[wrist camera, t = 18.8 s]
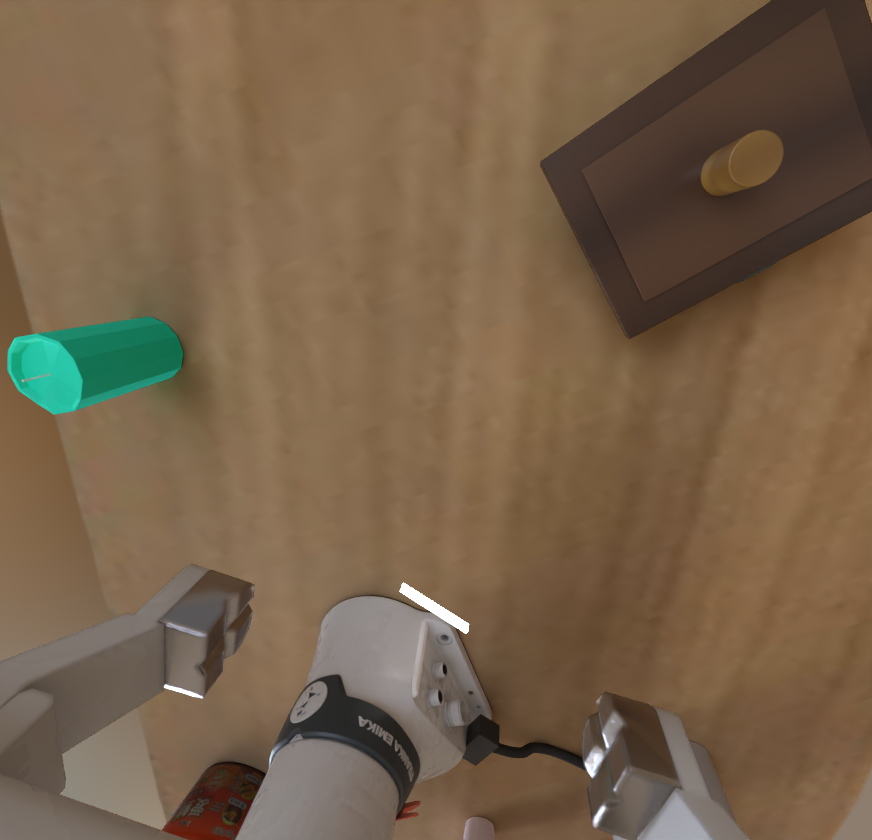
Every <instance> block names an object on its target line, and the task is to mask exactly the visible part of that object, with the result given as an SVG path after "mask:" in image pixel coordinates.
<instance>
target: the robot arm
mask: <svg viewBox="0 0 872 840" xmlns="http://www.w3.org/2000/svg"><path fill="white" fill-rule="evenodd" d="M400 592H401V593H402V594H404V595H406V596H407V597H409V598H410V599H412V600H414V601H415V602H417V603H418V604H420V605H421V606H423V607H425V608H426V609H428V610H429V611H431V612H433V613H429V612H422V611H419V610H416V609H414V608H412V607H410V606H408V605H406V604H403V603H401V602H398V601H396V600H392V599H389V598H384V597H377V596H362V597H355V598H351V599H348V600H345V601H343V602H341V603H339V604H337V605H336V606H334V607H333V608H332V609H331V610H330V611H329V612H328V613H327V614H326V616H325V617H324V619H323V621H322V624H321V627H320V633H319V640H318V645H317V649H316V653H315V657H314V660H313V664H312V667H311V670H310V673H309V676H308V679H307V682H306V685H305V688H304V690H303V691H302V693H301V694H300V696H299V697H298V699H297V701H296V702H295V704H294V706H293V708H292V709H291V711H290V713H289V715H288V717H287V719H286V721H285V724H284V726H283V728H282V730H281V732H280V734H279V736H278V739H277V741H276V743H275V745H274V748H273V750H272V752H271V754H270V758H269V770H268V772H267V774H266V776H265V778H264V780H263V782H262V784H261V786H260V789H259V791H258V793H257V795H256V797H255V799H254V801H253V803H252V805H251V808H250V810H249V812H248V814H247V816H246V818H245V820H244V822H243V825H242V827H241V829H240V831H239V833H238V835H237V837H236V839H235V840H392V834H393V829H394V825H395V821H398V820H403V819H407V818H412V817H416V816H418V813H416V812H414V813H407V812H408V811H412V810H413V809H415V808H416V807H418V806H419V805H420V801H414V802H410V803H405V802H406V800H407V798H408V796H409V794H410V792H411V790H412V788H413V786H414V784H417V783H420V782H423V781H426V780H428V779H431V778H434V777H436V776H439V775H441V774H444V773H446V772H447V771H449V770H451V769H452V768H454V767H455V766H456V765H457V764H458V763H459V762H460V761H461V759H462V758H464V759H466V760H467V761H469V762H471V763H472V764H474V765H477V764H479V763H480V762H481V761H482V760H483V759H484V758H486V757H487V756H488V755H489V754H490V753H492V752H493V753H497V754H500V755H503V756H507V757H511V758H525V757H527V756H529V755H530V754H532V753H542V754H547V755H550V756H554V757H556V758H559V759H562V760H564V761H566V762H569V763H571V764H573V765H575V766H577V767H579V768H581V769H583V770H586V771H588V773H589V774H590V776H591V777H592V779H593V780H592V781H591V783H590V785H589V787H588V788H587V791H588V798H589V804H590V811H591V817H592V824H593V827H594V828H596V829H599V830H602V831H605V832H607V833H610V834H613V835H616V836H619V837H621V838H624V839H627V840H750V838H749V837H748V836H747V835H746V834H745V832H744V831H743V830H742V829H741V828H740V826H739V825H738V824H737V823H736V822H735V820H734V819H733V818H732V817H731V816H730V814H729V813H728V812H727V811H726V810H725V808H724V807H723V806H722V805H721V804H720V802H718V801H716V800H713V799H711V797H710V795H709V792H708V789H707V787H706V784H705V781H704V779H703V776H702V774H701V771H700V768H699V766H698V763H697V761H696V758H695V755H694V753H693V750H692V747H691V745H690V742H689V740H688V737H687V734H686V732H685V729H684V727H683V724H682V721H681V719H680V717H679V716H678V715H677V714H676V713H675V712H672V711H669V710H665V709H662V708H659V707H655V706H650V705H649V704H646V703H643V702H639V701H636V700H633V699H629V698H626V697H622V696H619V695H616V694H612V693H609V692H604V693H602V694H601V695H600V697H599V699H598V700H597V702H596V703H597V708H598V712H597V713H595V714H592V715H590V716H589V717H588V719H587V722H586V724H585V726H584V730H583V736H582V757H583V758H581V757H579V756H577V755H574V754H572V753H570V752H568V751H565V750H563V749H560V748H557V747H554V746H551V745H548V744H543V743H536V742H533V743H528V744H526V745H525V746H523V747H511V746H507V745H504V744H500V743H499V725H498V724H496V723H495V722H493V721H492V720H491V717H492V711H491V708H490V706H489V703H488V701H487V699H486V696H485V694H484V692H483V690H482V687H481V685H480V683H479V680H478V678H477V676H476V674H475V671H474V669H473V667H472V665H471V662H470V660H469V658H468V655H467V653H466V651H465V649H464V646H463V644H462V642H461V639H460V637H459V635H458V633H457V630H456V628H458V629H459V630H461V631H463V632H464V633H467V632H468V628H469V624H468V623H466V622H465V621H463V620H462V619H460V618H459V617H457V616H455V615H454V614H452V613H451V612H449V611H447V610H446V609H444V608H443V607H441V606H440V605H438V604H436V603H435V602H433V601H432V600H430V599H429V598H427V597H425V596H424V595H422V594H421V593H419V592H417V591H416V590H414V589H413V588H411V587H410V586H408V585H406V584H405V583H403V584H402V586H401V589H400ZM253 597H254V585H253V584H252V583H249V582H246V581H244V580H241V579H238V578H235V577H232V576H229V575H226V574H223V573H220V572H217V571H214V570H210V569H207V568H204V567H201V566H198V565H195V564H191V565H189V566H186V567H185V568H183V569H182V570H181V571H180V572H179V573H178V574H177V575H176V576H175V577H174V578H173V579H172V580H171V581H169V582H168V583H167V584H166V585H165V586H164V587H163V588H162V589H161V590H160V591H159V592H158V593H157V594H156V595H155V596H153V597H152V598H151V599H150V600H149V601H148V602H147V603H146V604H145V605H144V606H143V607H142V608H141V609H140V610H138V611H137V612H136V613H135V614H134V615H133V614H130V613H126V614H123V615H121V616H118V617H116V618H113V619H110V620H108V621H105V622H103V623H100V624H97V625H94V626H92V627H90V628H87V629H84V630H81V631H79V632H76V633H73V634H71V635H68V636H66V637H63V638H60V639H58V640H55V641H52V642H50V643H48V644H45V645H42V646H39V647H37V648H34V649H31V650H29V651H26V652H24V653H21V654H18V655H16V656H13V657H10V658H8V659H5V660H2V661H0V840H187V839H185V838H182V837H179V836H176V835H173V834H170V833H168V832H165V831H162V830H159V829H156V828H153V827H151V826H148V825H145V824H142V823H139V822H136V821H133V820H131V819H128V818H125V817H122V816H119V815H117V814H114V813H111V812H108V811H105V810H102V809H99V808H96V807H94V806H91V805H88V804H85V803H83V802H80V801H77V800H74V799H71V798H68V797H66V796H63V795H60V793H61V792H62V791H63V790H64V788H65V782H66V777H65V770H64V764H63V757H62V754H63V753H64V752H66V751H68V750H69V749H71V748H72V747H74V746H76V745H77V744H79V743H80V742H82V741H84V740H85V739H87V738H88V737H90V736H92V735H93V734H95V733H96V732H98V731H100V730H101V729H103V728H105V727H106V726H108V725H109V724H111V723H113V722H114V721H116V720H117V719H119V718H121V717H122V716H124V715H125V714H127V713H128V712H130V711H132V710H133V709H135V708H137V707H138V706H140V705H141V704H143V703H145V702H146V701H148V700H149V699H151V698H153V697H154V696H156V695H157V694H159V693H161V692H162V691H164V688H168V689H171V690H175V691H178V692H181V693H185V694H188V695H192V696H195V697H199V698H202V699H203V698H204V696H205V695H206V694H207V692H208V691H209V689H210V688H211V687H212V685H213V684H214V682H215V681H216V679H217V678H218V677H219V675H220V674H221V672H222V671H223V659H225V658H227V657H229V656H231V655H233V654H235V652H236V651H237V649H238V648H239V647H240V645H241V644H242V642H243V640H244V638H245V636H246V634H247V632H248V629H249V626H250V623H251V619H252V609H251V608H250V606H249V604H248V603H249V602H250V601H251V599H252V598H253ZM455 627H456V628H455ZM445 635H447V636H445ZM404 803H405V804H404Z"/></svg>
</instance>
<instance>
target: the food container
mask: <svg viewBox="0 0 872 840" xmlns="http://www.w3.org/2000/svg"><path fill="white" fill-rule="evenodd" d="M265 776H266V775H264V774H263V773H262V772H260V771H257V770H255V769H253V768H251V767H248V766H245V765H241V764H236V763H220V764H215V765H213V766H211V767H209V768H208V769H206V770H205V771H204V773H203V774H202V775H201V777H200V778H199V779H198V781H197V782H196V784H195V785H194V786H193V788H192V789H191V791H190V792H189V793H188V795H187V796H186V798H185V799H184V800H183V802H182V803H181V804H180V806H179V807H178V809H177V810H176V811H175V813H174V814H173V815H172V817H171V818H170V820H169V821H168V822H167V824H166V825H165V826H164V828H163V829H162V831H165V832H168V833H170V834H173V835H176V836H179V837H182V838H185V839H187V840H235V839H236V837H237V835H238V833H239V831H240V829H241V827H242V825H243V822H244V820H245V818H246V816H247V814H248V812H249V810H250V808H251V805H252V803H253V801H254V799H255V797H256V795H257V793H258V791H259V789H260V786H261V784H262V782H263V780H264V778H265Z"/></svg>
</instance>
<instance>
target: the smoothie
mask: <svg viewBox="0 0 872 840" xmlns="http://www.w3.org/2000/svg"><path fill="white" fill-rule="evenodd" d="M463 840H495V834H494V826H493V824H492V823H491V822H490V821H489V820H487V819H485V818H482V817H471V818H469V819H468V820H467V821H466V826H465V831H464V837H463Z"/></svg>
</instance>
